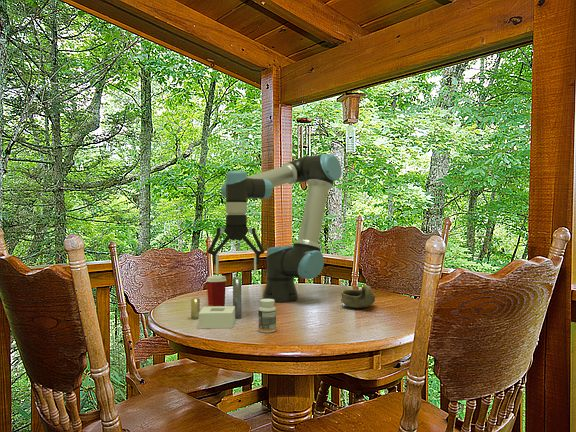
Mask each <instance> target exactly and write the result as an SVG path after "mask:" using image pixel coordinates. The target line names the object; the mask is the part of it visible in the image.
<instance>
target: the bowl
mask: <svg viewBox="0 0 576 432" xmlns="http://www.w3.org/2000/svg"><path fill="white" fill-rule="evenodd" d="M340 293H341V294H340V295H341V298H340V302H341V303H343V304H344V305H346V306H347V307H349V308H354V309H365V308H368V307H370V306H371V305H373V304H374V303H375V301H376V299H375V298H376V294H375V292H373V290H372V287H371V286H370V285H363V286H362V289H343V290H342V291H340Z"/></svg>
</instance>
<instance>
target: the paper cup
mask: <svg viewBox="0 0 576 432" xmlns="http://www.w3.org/2000/svg"><path fill="white" fill-rule="evenodd" d="M226 281H227V279H226V276H225V275H210V276H207V278H206V280H205V282H206V289H207V303H208V305H207V306H226V305H225V304H226V286H227V285H226V284H227V282H226Z"/></svg>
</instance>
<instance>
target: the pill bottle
mask: <svg viewBox="0 0 576 432" xmlns="http://www.w3.org/2000/svg"><path fill="white" fill-rule="evenodd" d="M275 304H276V302H275V300H274V299H263V298H262V299H260V300H259V305H260V306H259V307H258V309H257V310H258V331H259V332H260V333H264V334H267V333H268V334H269V333H274V332H275V331H276V330H277V307H275Z"/></svg>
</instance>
